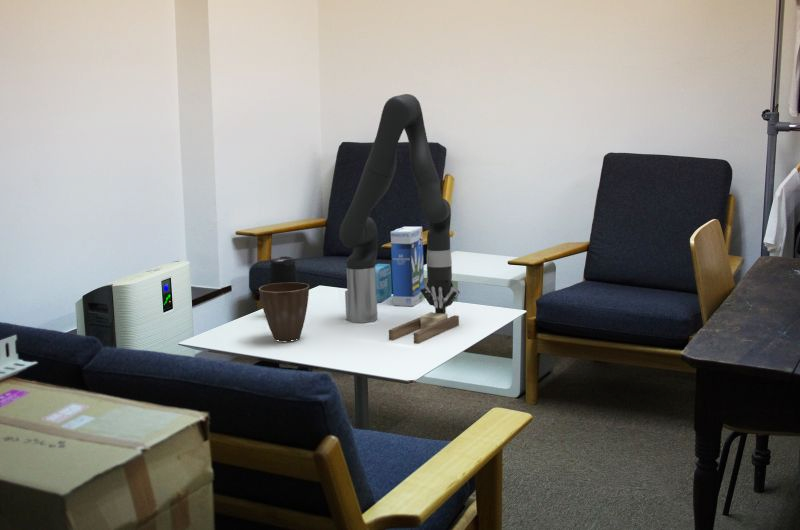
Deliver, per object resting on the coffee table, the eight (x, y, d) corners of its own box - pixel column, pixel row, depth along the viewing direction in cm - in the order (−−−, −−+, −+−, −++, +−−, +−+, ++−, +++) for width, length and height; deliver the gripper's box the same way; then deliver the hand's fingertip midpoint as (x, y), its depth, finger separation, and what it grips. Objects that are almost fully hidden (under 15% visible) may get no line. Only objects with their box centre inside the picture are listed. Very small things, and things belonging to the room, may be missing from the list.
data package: (379, 303, 322) (378, 269, 320) (367, 302, 324) (366, 269, 322) (392, 296, 333) (391, 263, 331) (380, 295, 335) (379, 262, 333)
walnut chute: (389, 342, 270) (388, 330, 270) (430, 324, 290) (430, 312, 289) (418, 345, 265) (418, 333, 264) (459, 327, 285) (458, 315, 284)
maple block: (420, 329, 281) (420, 316, 280) (430, 324, 286) (430, 312, 285) (437, 331, 278) (437, 318, 277) (447, 326, 283) (447, 314, 282)
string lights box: (412, 306, 315) (410, 231, 310) (391, 306, 317) (389, 231, 313) (425, 298, 327) (423, 226, 322) (405, 297, 330) (402, 225, 325)
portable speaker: (301, 317, 305) (298, 259, 301) (272, 320, 302) (269, 261, 299) (297, 312, 313) (294, 255, 309) (269, 314, 310) (266, 257, 307)
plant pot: (256, 336, 282) (253, 285, 279) (303, 330, 288) (300, 280, 285) (269, 348, 268) (266, 294, 265) (318, 341, 274) (315, 288, 271)
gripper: (414, 264, 282) (416, 320, 285) (452, 267, 275) (453, 324, 278) (426, 260, 289) (428, 314, 292) (464, 263, 282) (465, 318, 285)
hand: (440, 319), depth 285 cm, fingers closed
